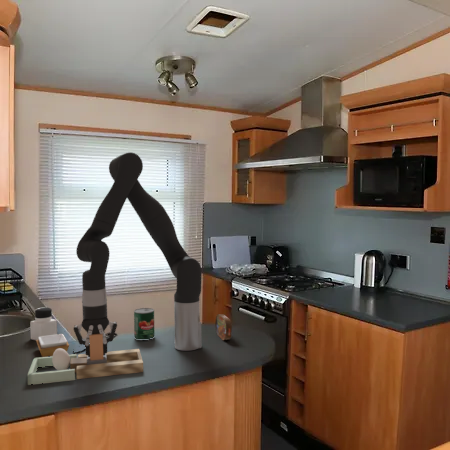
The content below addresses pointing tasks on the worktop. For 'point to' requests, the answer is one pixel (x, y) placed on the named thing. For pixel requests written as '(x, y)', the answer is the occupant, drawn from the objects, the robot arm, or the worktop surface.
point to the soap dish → (51, 344)
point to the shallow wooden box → (113, 364)
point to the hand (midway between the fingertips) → (96, 355)
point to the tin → (223, 327)
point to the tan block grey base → (96, 350)
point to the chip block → (77, 362)
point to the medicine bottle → (43, 323)
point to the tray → (51, 375)
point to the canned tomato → (144, 323)
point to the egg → (61, 359)
